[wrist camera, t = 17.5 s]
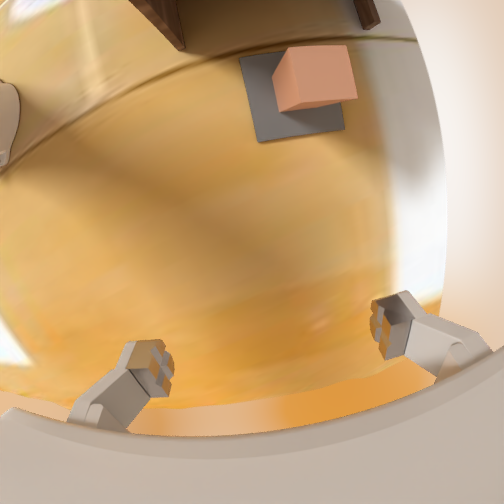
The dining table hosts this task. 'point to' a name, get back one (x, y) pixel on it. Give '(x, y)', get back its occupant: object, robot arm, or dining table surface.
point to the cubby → (167, 22)
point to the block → (313, 77)
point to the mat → (266, 108)
